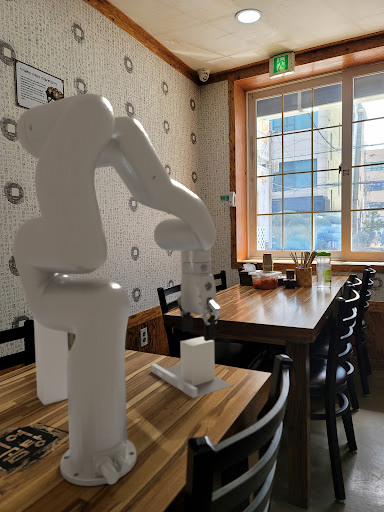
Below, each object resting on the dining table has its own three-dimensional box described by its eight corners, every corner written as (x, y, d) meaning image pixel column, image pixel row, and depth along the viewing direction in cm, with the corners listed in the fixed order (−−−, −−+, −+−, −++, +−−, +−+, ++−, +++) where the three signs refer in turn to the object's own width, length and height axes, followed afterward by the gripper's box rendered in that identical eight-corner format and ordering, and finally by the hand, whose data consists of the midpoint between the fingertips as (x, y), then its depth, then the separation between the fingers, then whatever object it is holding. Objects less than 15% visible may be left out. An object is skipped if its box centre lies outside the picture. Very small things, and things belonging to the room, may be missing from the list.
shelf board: (233, 391, 90) (233, 377, 90) (192, 404, 84) (192, 389, 83) (188, 367, 107) (187, 355, 107) (150, 377, 100) (150, 364, 100)
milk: (44, 405, 84) (39, 310, 83) (37, 396, 89) (32, 306, 88) (70, 398, 88) (66, 307, 87) (62, 389, 93) (58, 303, 91)
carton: (192, 386, 90) (191, 346, 90) (180, 379, 94) (179, 341, 94) (214, 379, 94) (214, 340, 93) (202, 373, 98) (202, 336, 98)
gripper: (230, 270, 88) (231, 340, 89) (189, 264, 102) (191, 325, 103) (204, 273, 83) (206, 347, 85) (166, 267, 98) (168, 330, 99)
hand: (198, 335), depth 94 cm, fingers open, 9 cm apart
